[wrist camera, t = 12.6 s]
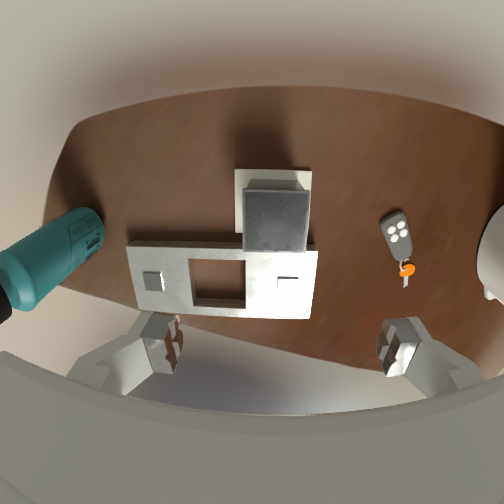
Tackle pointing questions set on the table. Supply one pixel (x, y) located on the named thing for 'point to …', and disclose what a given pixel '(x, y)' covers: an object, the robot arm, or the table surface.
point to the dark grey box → (275, 216)
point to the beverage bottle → (47, 258)
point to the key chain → (398, 241)
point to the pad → (246, 174)
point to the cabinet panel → (256, 304)
